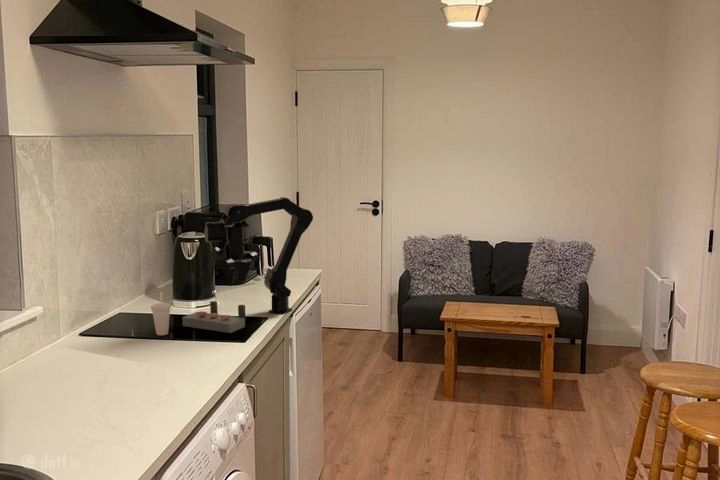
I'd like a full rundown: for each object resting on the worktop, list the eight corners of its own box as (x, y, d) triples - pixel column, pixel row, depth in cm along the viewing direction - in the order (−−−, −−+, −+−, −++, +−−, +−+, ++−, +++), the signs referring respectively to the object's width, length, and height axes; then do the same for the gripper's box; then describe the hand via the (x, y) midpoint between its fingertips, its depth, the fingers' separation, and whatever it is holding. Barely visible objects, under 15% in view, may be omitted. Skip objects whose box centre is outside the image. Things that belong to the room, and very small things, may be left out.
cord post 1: (213, 317, 253) (213, 300, 252) (219, 318, 252) (218, 301, 251) (209, 318, 251) (208, 302, 250) (214, 319, 250) (214, 303, 249)
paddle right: (225, 317, 241) (225, 314, 241) (230, 318, 240) (230, 315, 240) (220, 318, 238) (220, 315, 238) (225, 318, 237) (225, 315, 237)
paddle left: (201, 314, 245) (202, 311, 245) (206, 314, 244) (206, 312, 244) (196, 314, 243) (196, 311, 243) (201, 315, 242) (201, 312, 242)
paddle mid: (213, 315, 243) (213, 313, 243) (218, 316, 242) (218, 313, 242) (208, 316, 240) (208, 313, 240) (213, 317, 240) (213, 314, 240)
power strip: (198, 319, 250) (197, 311, 249) (244, 326, 241) (244, 318, 240) (182, 325, 243) (182, 317, 242) (230, 333, 234) (230, 324, 233)
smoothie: (160, 337, 229) (158, 295, 227) (148, 334, 233) (145, 292, 231) (176, 332, 234) (174, 291, 232) (164, 329, 238) (161, 288, 236)
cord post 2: (241, 321, 248) (240, 304, 247) (247, 322, 247) (246, 305, 246) (237, 322, 246) (236, 306, 245) (242, 323, 245) (242, 306, 244)
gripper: (232, 234, 261) (234, 276, 264) (200, 242, 245) (202, 287, 247) (257, 236, 256) (259, 279, 259) (226, 244, 240) (228, 290, 242)
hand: (237, 283), depth 252 cm, fingers open, 7 cm apart
